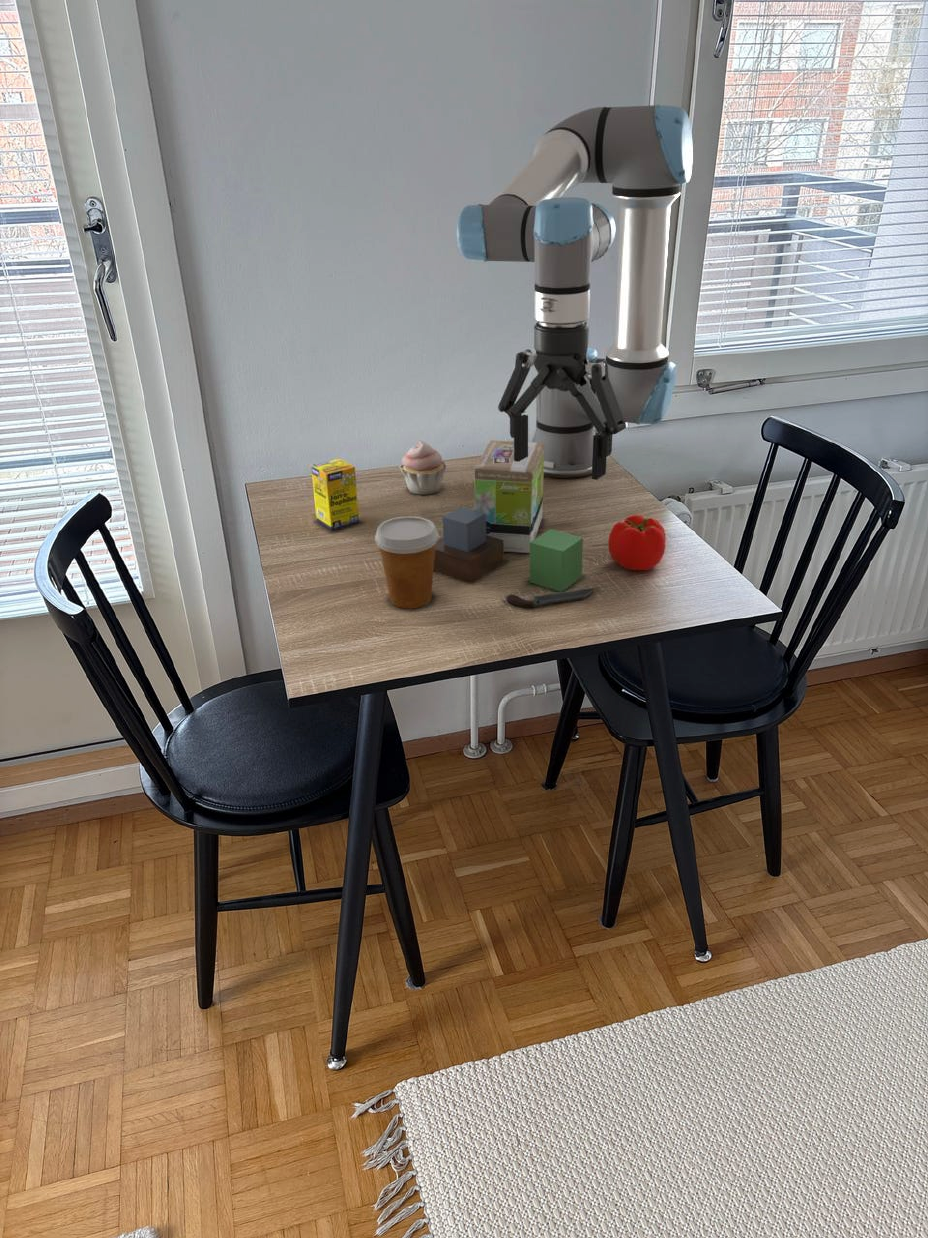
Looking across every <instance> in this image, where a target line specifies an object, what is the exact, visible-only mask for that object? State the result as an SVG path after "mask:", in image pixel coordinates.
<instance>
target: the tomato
mask: <svg viewBox="0 0 928 1238" xmlns="http://www.w3.org/2000/svg"><path fill="white" fill-rule="evenodd" d="M666 536H667V535H666V531H665V529H664V527H663V525H662V524H661V523H660V521H658V520H657V519H656V518H653V517H650V518H649V517H644V516H643V515H640V514H633V515H630V516H628V517H626V518H625V519H624V520H623V521H618V522H617V523H615V524H614V525H613V526H612V529H611V531H610V532H609V535H608V541H607V544H608V552H609V555H610V557H611V559H612V560H613V561H614V562H616V563H617V564H619V565H620V566H621V567H623V568H625V569H626V570H628V571H629V570H630V571H648V570H652V569H654V568H655V567H656V566H657V565H658V564H659V563H661V560H662V559H663V556H664V555H665V551H666V541H667V540H666V539H667V537H666Z"/></svg>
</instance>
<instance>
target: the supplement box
mask: <svg viewBox="0 0 928 1238" xmlns="http://www.w3.org/2000/svg"><path fill="white" fill-rule="evenodd" d="M310 471H311V472H310V473H311V480H312V481H311V482H312V489H313V498H314V499H313V500H314V507H315V509H314V510H315V519H316V522H318V523H319V524H321V525H322V526H323V527H325V528H327V529H329V530H330V531H331V532H333V531H336V530H339V529H342V528H345V527H346V528H347V527H350V526H352V525H357V524H360V513H359V501H358V492H357V491H358V489H357V478H356V467H355V466H354V465H352V464H350V463H349V462H347V461H345V460H343V459H341V458H335V459H333V460H329V461H325V462H321V463H317V464H311V465H310Z"/></svg>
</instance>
